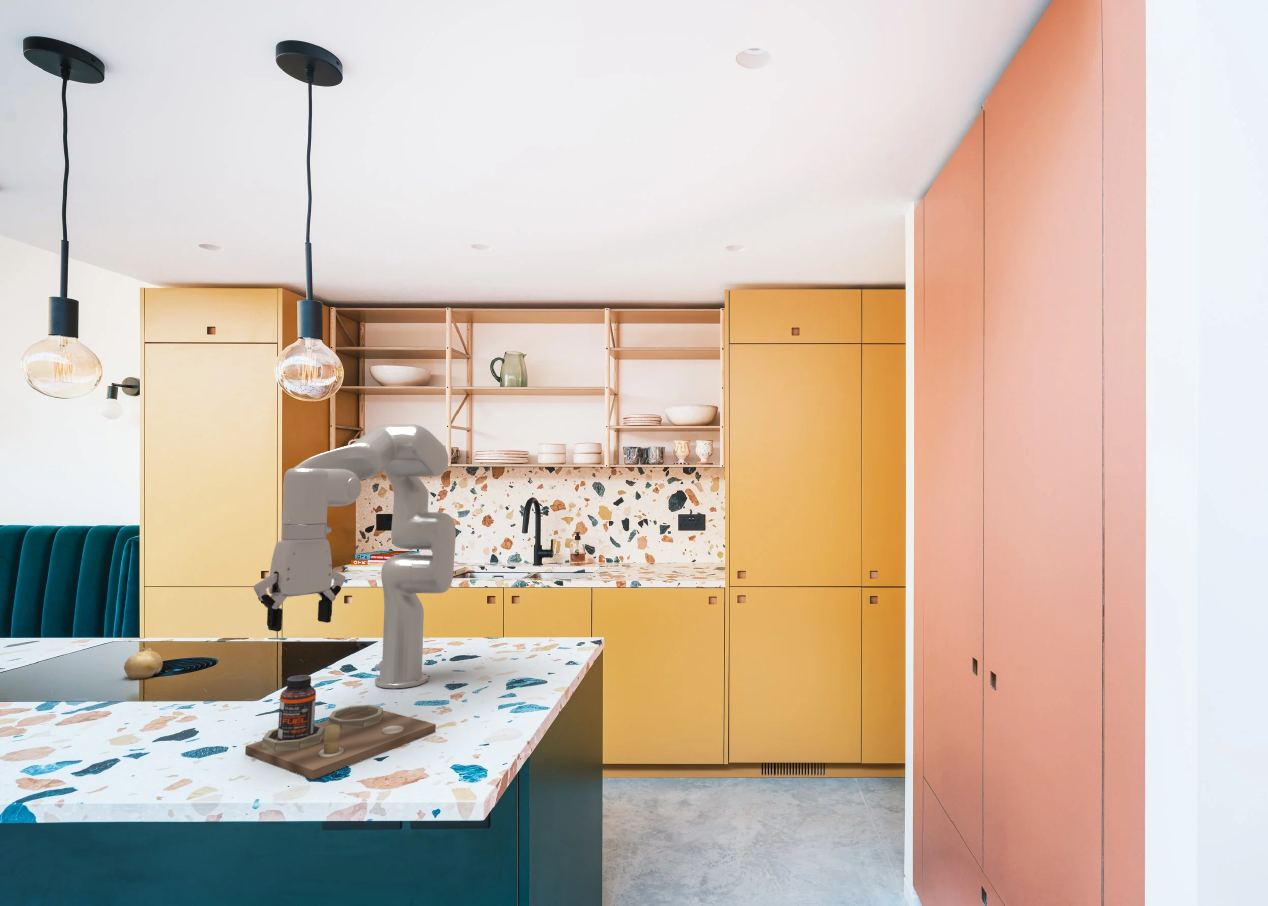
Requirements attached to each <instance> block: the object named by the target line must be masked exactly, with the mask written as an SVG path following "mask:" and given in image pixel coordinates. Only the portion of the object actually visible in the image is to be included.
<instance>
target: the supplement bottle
mask: <svg viewBox="0 0 1268 906" xmlns="http://www.w3.org/2000/svg"><path fill="white" fill-rule="evenodd" d="M311 683H312V676H311V675H307V674H299V675H292V676H289V677H288V678H287V679H286V688H285V689H283V690H282V691H281V693H280V696H279V698H280V699H279V708H278V710H279V711H278V712H279V713H278V727H277V728H278V741H286V740H299V739H302V738H305V737H308V736H311V735H314V723H315V715H316V698H317V691H316V689H315V687H314V686H312V684H311Z"/></svg>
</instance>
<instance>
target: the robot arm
mask: <svg viewBox="0 0 1268 906" xmlns="http://www.w3.org/2000/svg"><path fill="white" fill-rule="evenodd" d="M449 460H450V459H449V454H448V451H447V448H446V447H445V446H444V444H443V443H442V442H441V441H440V440H439V439H438V438H437V437H436V436H435V435H434V434H433V433H432V432H431V431H429V430H428V429H427V428H425V427H423V426H421V425H420V424H382V425H378V426H376V427H373V428H372V429H371V430H370V431H368V432H367V433H365V434H364V435H363V436H361V437H359V438H358V439H357V440H355V441H354V442H353V443H351V444H348V445H345V446H341V447H338V448H334V449H332V450H329V451H325V452H322V453H319V454H316V455H313V456H311V457H308V458H307V459H305V460H303V461H302V462H300V463H299V464H297V465H295V467H293V468H288V470H286V471H285V473H284V475H283V476H284V477H283V484H282V493H283V495H282V496H283V497H282V516H281V517H282V518H281V520H282V521H281V523H282V524H281V539H280V540H281V541H276V543H275V546H274V548H273V549H274V550H273V553H272V558H271V562H270V567H269V568H270V569H269V570H270V571H269V576H267V577H265V578H264V579H262V580H260V581H259V582H257V583H256V584H254V585H253V590H254V592H255V594H256V596H257V599H258V601H260V602H261V603H262V605H263V606H264V607H265V608H267V611H266V612H267V616H266V625H267V630H269V631H271V632H272V631H273V632H280V631H282V628H283V627H282V626H283V609H282V608H280V606H281V605H282V604H283V602H284V601H285V600H286V599H287V598H288V597H289V598H290V597H298V596H306V595H315V594H317V595H318V596H319V597H320V598H321V599H319V600H318V603H317V604H318V606H317V621H318V622H321V623H331V622H332V615H333V614H332V613H333V601H335V600H336V598H337V597H336V596H338V594H339V593H340V592H341V591H342V587H343V586H344V585H343V584H344V583H345V580H346V576H345V575H343V574H341V573H340V572H337V571H335V570H333V561H332V551H331V546H330V542H329V540H328V539H327V534H331V533H332V527H331V526H328V524H327V523H328V521H327V520H328V507H345V506H349V505H351V504H353V503H354V502H355V501H357V499H359V496H360V495H361V491H362V483H361V481H363V480H367V479H371V478H373V477H376V475H378V474H379V473H381V472H382V471H383V473H384V474H385V476H386V478H387V480H388V481H389V483H390V485H391V488H392V492H393V505H392V507H393V508H392V517H391V518H392V519H391V534H390V535H391V536H390V537H391V542H392V545H393V546H394V547H396V548H398V549H402V550H428V551H429V550H430V551H431V552H432V554H429V555H428V554H426V555H425V554H397V555H393V556H390V557H389V558H387V559H386V560H385V561H384V563H383V564H382V567H381V571H380V575H381V577H380V578H381V585H382V591H383V607H384V608H383V610H384V611H383V630H382V631H383V637H382V658H381V659H382V660H380V662H379V663H376V664H375V665H374V669H375V670H377V671H379V675H378V676H376V678H375V679H374V684H375V686H376V687H379V688H383V689H404V688H412V687H417V686H420V685H423V684H425V683H426V682H428V680H429V674H428V673H426V672H424V671H423V652H424V651H423V649H424V648H423V647H424V620H425V617H424V616H425V612H424V610H425V609H424V605H423V603H422V601H421V599H419V596H418V595H417V594H443V593H445V592H448V591H449V589H450V588H451V586H452V583H453V578H454V577H453V576H454V570H455V569H454V566H455V565H454V564H455V554H456V553H455V552H456V551H455V550H456V540H457V539H456V534H457V533H456V531H457V530H456V523H455V521H454V518H452V516H451V515H450V514H448V513H446V512H445V513H444V512H436V511H435V512H430V511H429V491H428V489H427V486H426V485H425V483H424V482H423V481H422V479H420V477H439V476H441V475H443V474H444V473H445V472H446V471H447V469H448V466H449ZM332 583H333V585H332ZM267 589H268V591H267ZM268 593H269V594H268Z"/></svg>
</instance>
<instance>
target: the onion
mask: <svg viewBox="0 0 1268 906" xmlns="http://www.w3.org/2000/svg"><path fill="white" fill-rule="evenodd" d="M141 648H142V650H143V651H139V652H136V653H134V654H133V655H130V657H129V658H128V659H126V661H125V662H124V665H123V670H124V673H125V674H126V675H127V678H129V680H141V679H150V678H151V677H153V676H154V675H155V676H156V675H157V674H159V673H160V671H161V670H162V668H163V664H164V663H163V662H164V660H163V658H162V657H161V655H160V654H159V653H158V652H155V651H153V650H152V648H151V647H150V648H149V647H148V648H145V647H141Z"/></svg>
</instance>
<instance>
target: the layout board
mask: <svg viewBox="0 0 1268 906" xmlns="http://www.w3.org/2000/svg"><path fill="white" fill-rule="evenodd" d="M436 729H437V728H436V723H432V722H429V721H425V720H422V719H418V718H415V717H410V716H405V715H402V714H399V713H395V712H391V711H387V710H384V707H381V706H376V705H373V704H364V705H363V704H362V705H350V706H345V707H343V708H339V709H336V710H333V711H332V712H331V713H330V715H329V716H328V719H327V720H324V721H321V722H317V723H315V722H314V735H311V736H308V737H305V738H302V739H299V740H286V741H278V727H276V728H272V729H271V730H268V731H267V732H266V733H265V735H264V736H263V737H262V740H260V741H256V742H254V743H250V744H246V745H245V752H244V754H245V756H249V757H251V758H253V759H256V760H259V761H262V762H264V763H267V764H270V765H271V766H272V765H273V766H275V767H278V768H280V769H283V770H285V769H286V771H288V770H289V771H288V772H291V773H293V772H294V773H293V774H296V773H297V775H299V774H300V775H299V776H302V777H305V778H307V779H310V780H316V779H318V778H321V777H323V776H327V775H329V774H332V773H333V771H334V772H336V770H337V771H339V770H341V768H342V769H344V768H346V766H347V767H349V766H352V765H354V764H357V763H359V762H362V761H365V760H367V759H369V758H372V757H375V756H377V755H380V754H383V753H385V752H388V751H390V750H393V749H395V748H397V747H400V746H403V745H406V744H408V743H410V742H413V741H416V740H419V739H421V738H423V737H426V736H428V735H430V734H431V735H432V734H433V733H436ZM351 764H352V765H351ZM348 765H349V766H348ZM343 767H344V768H343ZM338 769H339V770H338Z"/></svg>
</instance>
